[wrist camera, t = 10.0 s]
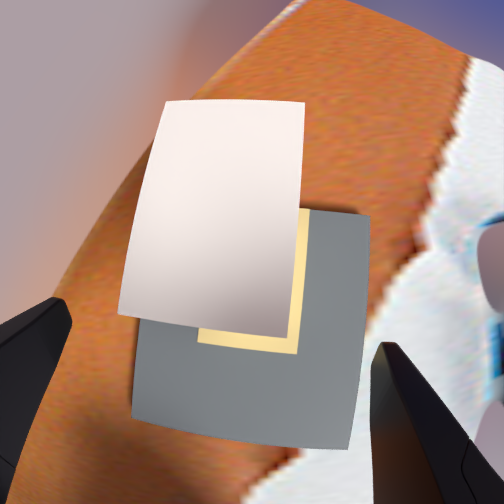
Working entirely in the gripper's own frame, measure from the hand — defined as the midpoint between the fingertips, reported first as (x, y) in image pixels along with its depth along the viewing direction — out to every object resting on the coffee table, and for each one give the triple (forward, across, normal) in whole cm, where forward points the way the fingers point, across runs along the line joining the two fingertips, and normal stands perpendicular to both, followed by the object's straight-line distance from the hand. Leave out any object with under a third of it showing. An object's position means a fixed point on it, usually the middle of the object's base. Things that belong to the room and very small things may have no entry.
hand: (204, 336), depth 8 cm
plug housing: (+10, 0, +5) cm, 12 cm away
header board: (+9, 0, +8) cm, 12 cm away
